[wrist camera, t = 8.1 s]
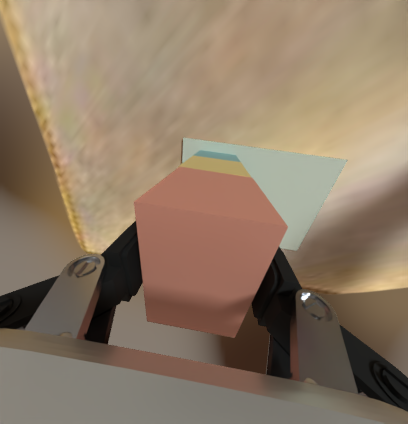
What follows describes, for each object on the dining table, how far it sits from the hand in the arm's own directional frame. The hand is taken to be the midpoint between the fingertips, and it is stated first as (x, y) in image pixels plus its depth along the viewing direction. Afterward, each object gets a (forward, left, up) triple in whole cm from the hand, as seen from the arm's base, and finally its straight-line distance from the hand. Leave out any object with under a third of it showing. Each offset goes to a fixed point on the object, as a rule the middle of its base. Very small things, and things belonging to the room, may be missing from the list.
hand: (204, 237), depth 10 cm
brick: (0, 0, -2) cm, 2 cm away
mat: (+3, +6, -15) cm, 16 cm away
